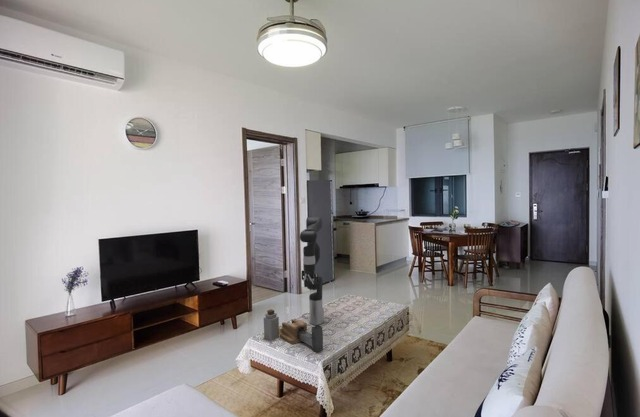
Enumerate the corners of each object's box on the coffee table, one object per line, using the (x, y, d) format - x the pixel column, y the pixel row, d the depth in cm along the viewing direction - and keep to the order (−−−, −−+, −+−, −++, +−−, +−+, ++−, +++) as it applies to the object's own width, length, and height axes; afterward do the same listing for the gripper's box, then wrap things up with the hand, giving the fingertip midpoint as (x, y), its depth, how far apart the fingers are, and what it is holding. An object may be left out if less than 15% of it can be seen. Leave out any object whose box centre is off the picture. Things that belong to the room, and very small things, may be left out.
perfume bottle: (272, 334, 232) (271, 307, 231) (279, 337, 228) (278, 310, 227) (264, 338, 227) (263, 310, 226) (271, 340, 223) (270, 313, 222)
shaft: (295, 334, 230) (294, 314, 229) (323, 349, 208) (322, 326, 208) (289, 336, 227) (288, 316, 226) (316, 351, 205) (315, 329, 204)
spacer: (291, 332, 235) (289, 330, 239) (291, 326, 235) (289, 324, 239) (280, 335, 232) (278, 333, 235) (280, 329, 231) (278, 327, 235)
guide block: (297, 331, 236) (296, 316, 236) (309, 337, 226) (309, 322, 225) (279, 337, 228) (279, 321, 227) (291, 344, 217) (291, 328, 216)
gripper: (321, 263, 216) (321, 289, 217) (307, 260, 227) (307, 284, 229) (311, 265, 212) (312, 292, 213) (297, 262, 223) (298, 287, 224)
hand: (310, 288), depth 221 cm, fingers open, 8 cm apart
